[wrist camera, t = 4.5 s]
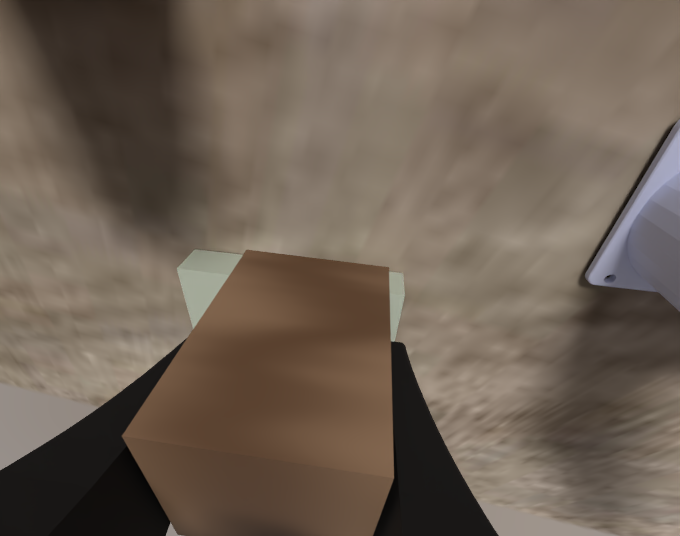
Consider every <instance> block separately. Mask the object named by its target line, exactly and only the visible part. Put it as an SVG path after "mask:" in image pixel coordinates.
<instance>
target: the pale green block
mask: <svg viewBox="0 0 680 536" xmlns="http://www.w3.org/2000/svg"><path fill="white" fill-rule="evenodd" d="M242 256H243V255H241V254H232V253H224V252H215V251H206V250H198V249H195V250H194V251H193V252H192V253H191V254H190V255H189V256H188V257H187V258H186V259H185V260H184V261H183V263H182V264H181V265H180V266H179V267H178V268H177V271H178V275H179V279H180V282H181V286H182V290H183V293H184V297H185V301H186V304H187V308H188V312H189V315H190V319H191V323H192V326H193V329H194V327H195V326H196V324H197V323H198V322H199V320H200V319H201V317H202V316H203V314H204V313H205V311H206V310H207V308H208V307H209V305H210V304H211V302H212V301H213V299H214V298H215V296H216V295H217V293H218V292H219V290H220V289H221V287H222V286H223V284H224V283H225V281H226V280H227V278H228V277H229V275H230V274H231V272H232V271H233V269H234V268H235V266H236V265H237V263H238V262H239V260H240V259H241V257H242ZM389 287H390V329H391V341H393V342H395V337H396V333H397V328H398V324H399V319H400V315H401V310H402V306H403V302H404V297H405V292H404V279H403V273H398V272H389Z"/></svg>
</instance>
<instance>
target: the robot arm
mask: <svg viewBox="0 0 680 536" xmlns="http://www.w3.org/2000/svg"><path fill="white" fill-rule="evenodd" d="M608 275H611V276H610V277H608V278H605V277H606V276H608ZM585 278H586V279H587V281H588V282H589V283H590V284H593V285H599V286H608V287H617V288H625V289H634V290H643V291H652V292H659V293H660V294H661V295H662V296H663V297H664V298H665V299H666V300H667V301H669V302H670V303H671V304H672V305H673V306H674V307H675V308H676V309H677V310H678V311H679V312H680V120H678V122H677V123H676V124H675V125H674V127H673V128H672V130H671V132H670V133H669V135H668V137H667V138H666V140H665V142H664V143H663V145H662V147H661V148H660V150H659V152H658V153H657V155H656V157H655V158H654V160H653V162H652V163H651V165H650V167H649V168H648V170H647V172H646V173H645V175H644V177H643V178H642V180H641V182H640V183H639V185H638V187H637V188H636V190H635V192H634V193H633V195H632V197H631V198H630V200H629V202H628V203H627V205H626V207H625V208H624V210H623V212H622V213H621V215H620V217H619V218H618V220H617V222H616V223H615V225H614V227H613V228H612V230H611V232H610V233H609V235H608V237H607V238H606V240H605V242H604V243H603V245H602V247H601V248H600V250H599V252H598V253H597V255H596V257H595V258H594V260H593V262H592V263H591V265H590V267H589V268H588V270H587V272H586V274H585ZM186 339H187V338H186ZM186 339H185V340H184V341H183V342H182V343H181V344H179V345H178V346H177V347H176V348H175V349H174V350H172V351H171V352H170V353H169V354H168V355H166V356H165V357H164V358H163V359H162V360H160V361H159V362H158V363H157V364H156V365H154V366H153V367H152V368H151V369H150V370H148V371H147V372H146V373H145V374H143V375H142V376H141V377H139V378H138V379H137V380H136V381H134V382H133V383H132V384H130V385H129V386H128V387H126V388H125V389H124V390H122V391H121V392H120V393H119V394H117V395H116V396H115V397H113V398H112V399H111V400H109V401H108V402H106V403H105V404H104V405H102V406H101V407H99V408H98V409H97V410H95V411H94V412H93V413H91V414H89V415H88V416H86V417H85V418H84V419H82V420H81V421H79V422H78V423H76V424H75V425H73V426H72V427H70V428H69V429H67V430H66V431H64V432H62V433H61V434H59V435H58V436H56V437H54V438H53V439H51V440H50V441H48V442H47V443H45V444H43V445H42V446H40V447H39V448H37V449H35V450H34V451H32V452H30V453H29V454H27V455H25V456H24V457H22V458H20V459H19V460H17V461H15V462H14V463H12V464H11V465H9V466H7V467H5V468H4V469H2V470H0V536H166V533H167V530H168V527H169V525H170V520H169V518H168V517H167V515H166V513H165V511H164V510H163V508H162V506H161V504H160V503H159V501H158V499H157V497H156V495H155V494H154V492H153V490H152V488H151V487H150V485H149V483H148V481H147V480H146V478H145V476H144V474H143V473H142V471H141V469H140V467H139V466H138V464H137V462H136V460H135V459H134V457H133V455H132V453H131V452H130V450H129V448H128V446H127V445H126V443H125V441H124V439H123V437H122V435H123V434H124V432H125V431H126V429H127V428H128V426H129V425H130V423H131V422H132V420H133V419H134V417H135V416H136V414H137V413H138V411H139V410H140V408H141V407H142V405H143V404H144V402H145V401H146V399H147V398H148V396H149V395H150V393H151V392H152V390H153V389H154V387H155V386H156V384H157V383H158V381H159V380H160V378H161V377H162V375H163V374H164V372H165V371H166V369H167V368H168V366H169V365H170V363H171V362H172V360H173V359H174V357H175V356H176V354H177V353H178V351H179V350H180V348H181V347H182V345H183V344H184V342H185V341H186ZM391 372H392V414H393V456H394V480H393V482H392V485H391V488H390V491H389V493H388V496H387V499H386V501H385V504H384V507H383V510H382V512H381V515H380V518H379V521H378V523H377V526H376V529H375V531H374V534H373V536H498V534H497V533H496V531H495V530H494V528H493V527H492V525H491V523H490V522H489V520H488V519H487V517H486V515H485V514H484V512H483V510H482V509H481V507H480V505H479V504H478V502H477V501H476V499H475V497H474V496H473V494H472V492H471V490H470V489H469V487H468V485H467V484H466V482H465V480H464V478H463V477H462V475H461V473H460V471H459V469H458V468H457V466H456V464H455V462H454V460H453V458H452V456H451V455H450V453H449V451H448V449H447V447H446V445H445V443H444V441H443V439H442V437H441V435H440V433H439V431H438V429H437V427H436V424H435V422H434V420H433V418H432V416H431V414H430V411H429V409H428V407H427V404H426V402H425V400H424V398H423V395H422V393H421V390H420V388H419V386H418V383H417V380H416V378H415V375H414V372H413V370H412V367H411V364H410V361H409V358H408V354H407V351H406V347H405V345H404V344H403V343H400V342H393V341H391Z"/></svg>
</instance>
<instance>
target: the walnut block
mask: <svg viewBox="0 0 680 536" xmlns="http://www.w3.org/2000/svg"><path fill="white" fill-rule="evenodd" d="M122 437H123V439H124V441H125V443H126V445H127V446H128V448H129V450H130V452H131V453H132V455H133V457H134V459H135V460H136V462H137V464H138V466H139V467H140V469H141V471H142V473H143V474H144V476H145V478H146V480H147V481H148V483H149V485H150V487H151V488H152V490H153V492H154V494H155V495H156V497H157V499H158V501H159V503H160V504H161V506H162V508H163V510H164V511H165V513H166V515H167V517H168V518H169V520H170V522H171V524H172V525H173V527H174V529H175V531H176V532H177V534H178V535H184V536H373V534H374V531H375V529H376V526H377V523H378V521H379V518H380V515H381V512H382V510H383V507H384V504H385V501H386V499H387V496H388V493H389V491H390V488H391V485H392V482H393V480H394V456H393V414H392V372H391V329H390V287H389V267H382V266H373V265H365V264H357V263H349V262H341V261H333V260H325V259H317V258H309V257H301V256H293V255H285V254H276V253H268V252H260V251H252V250H246V251H245V253H244V254H243V256H242V257H241V259H240V260H239V262H238V263H237V265H236V266H235V268H234V269H233V271H232V272H231V274H230V275H229V277H228V278H227V280H226V281H225V283H224V284H223V286H222V287H221V289H220V290H219V292H218V293H217V295H216V296H215V298H214V299H213V301H212V302H211V304H210V305H209V307H208V308H207V310H206V311H205V313H204V314H203V316H202V317H201V319H200V320H199V322H198V323H197V324H196V326H195V327H194V329H193V330H192V332H191V333H190V335H189V336H188V338H187V339H186V341H185V342H184V344H183V345H182V347H181V348H180V350H179V351H178V353H177V354H176V356H175V357H174V359H173V360H172V362H171V363H170V365H169V366H168V368H167V369H166V371H165V372H164V374H163V375H162V377H161V378H160V380H159V381H158V383H157V384H156V386H155V387H154V389H153V390H152V392H151V393H150V395H149V396H148V398H147V399H146V401H145V402H144V404H143V405H142V407H141V408H140V410H139V411H138V413H137V414H136V416H135V417H134V419H133V420H132V422H131V423H130V425H129V426H128V428H127V429H126V431H125V432H124V434H123V435H122Z"/></svg>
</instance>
